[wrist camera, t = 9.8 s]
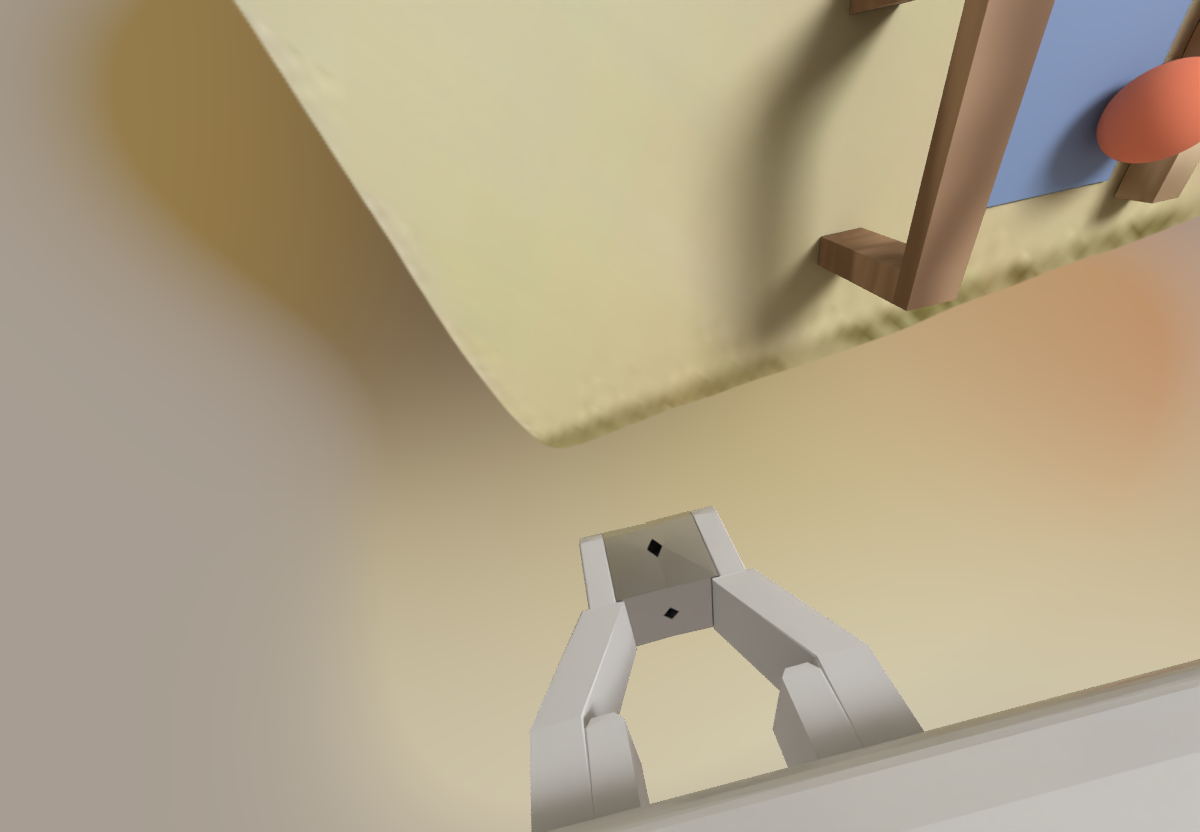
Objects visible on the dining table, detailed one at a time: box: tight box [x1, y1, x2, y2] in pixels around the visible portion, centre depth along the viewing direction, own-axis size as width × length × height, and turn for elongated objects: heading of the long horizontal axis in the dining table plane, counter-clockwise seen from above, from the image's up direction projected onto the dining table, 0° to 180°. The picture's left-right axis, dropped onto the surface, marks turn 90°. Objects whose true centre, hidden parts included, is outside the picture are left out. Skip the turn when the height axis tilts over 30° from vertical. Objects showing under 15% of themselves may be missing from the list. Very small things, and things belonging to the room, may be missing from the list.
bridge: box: [818, 0, 1055, 311], centre depth 24 cm, size 3×16×9 cm, turn 10°
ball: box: [1096, 57, 1200, 163], centre depth 28 cm, size 6×6×6 cm
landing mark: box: [987, 0, 1193, 207], centre depth 28 cm, size 13×13×1 cm
